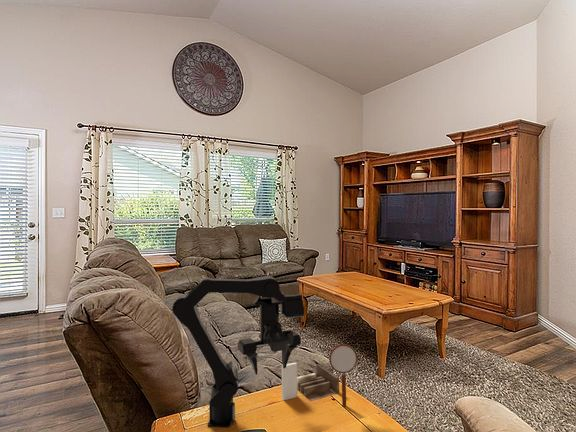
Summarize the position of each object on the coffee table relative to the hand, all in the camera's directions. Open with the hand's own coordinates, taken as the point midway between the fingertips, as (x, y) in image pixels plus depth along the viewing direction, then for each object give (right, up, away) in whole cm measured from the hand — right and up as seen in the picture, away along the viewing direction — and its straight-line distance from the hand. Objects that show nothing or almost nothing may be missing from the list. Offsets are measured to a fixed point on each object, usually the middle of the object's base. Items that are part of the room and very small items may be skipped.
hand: (270, 371), depth 103 cm
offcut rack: (+14, -13, +13) cm, 23 cm away
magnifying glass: (+22, -13, +1) cm, 26 cm away
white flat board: (+6, -13, +7) cm, 16 cm away
